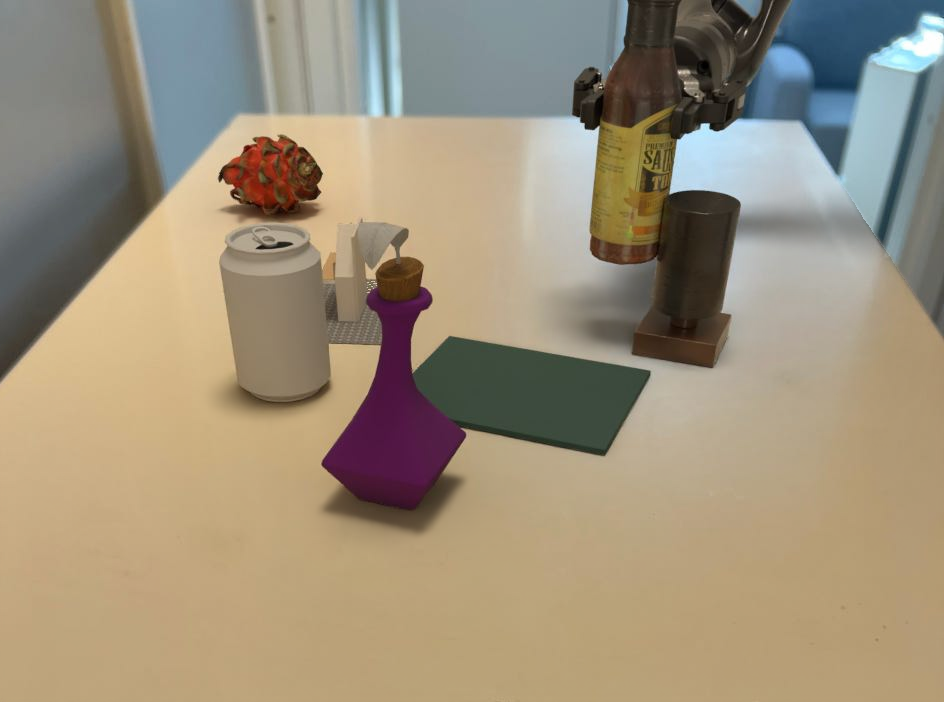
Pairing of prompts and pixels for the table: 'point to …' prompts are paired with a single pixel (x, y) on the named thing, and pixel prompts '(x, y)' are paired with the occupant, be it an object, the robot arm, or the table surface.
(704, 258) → the dark brown piece
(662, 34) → the sauce bottle
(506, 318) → the table surface
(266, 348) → the can
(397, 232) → the perfume bottle
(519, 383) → the mat
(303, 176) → the dragon fruit
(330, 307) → the architectural model
